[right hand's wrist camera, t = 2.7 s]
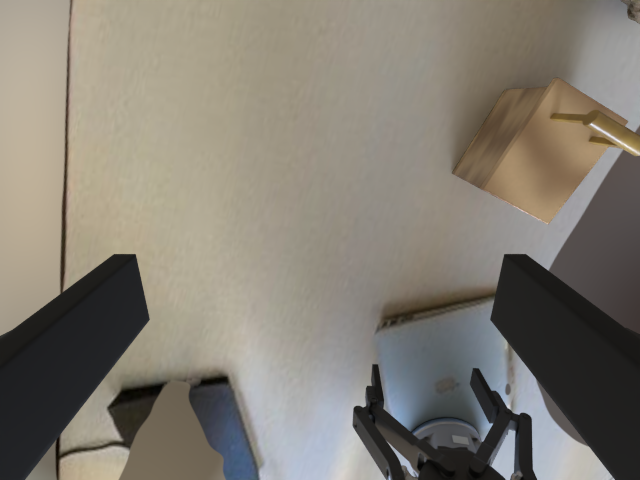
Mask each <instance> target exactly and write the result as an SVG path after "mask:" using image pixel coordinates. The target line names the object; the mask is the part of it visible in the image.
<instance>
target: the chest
mask: <svg viewBox="0 0 640 480" xmlns="http://www.w3.org/2000/svg"><path fill="white" fill-rule="evenodd" d="M546 89H547V87H538V88H523V89H506V90H504V92H503V93H502V95H501V97H500V98H499V100H498V101H497V103H496V104H495V106H494V108H493V109H492V111H491V112H490V114H489V115H488V117H487V119H486V120H485V122H484V123H483V125H482V126H481V128H480V130H479V131H478V133H477V134H476V136H475V138H474V139H473V141H472V142H471V144H470V145H469V147H468V149H467V150H466V152H465V153H464V155H463V156H462V158H461V160H460V161H459V163H458V164H457V166H456V168H455V169H454V171H453V172H452V174H454V175H456V176H458V177H460V178H462V179H463V180H465V181H467V182H469V183H471V184H473V185H475V186H476V187H478V188H480V187H481V185H482V184H483V182H484V181H485V179H486V178H487V176H488V175H489V173H490V172H491V170H492V169H493V167H494V166H495V164H496V163H497V162H498V160H499V159H500V157H501V156H502V154H503V153H504V151H505V150H506V148H507V147H508V145H509V144H510V142H511V141H512V139H513V138H514V136H515V135H516V133H517V132H518V130H519V129H520V127H521V126H522V124H523V123H524V121H525V120H526V118H527V117H528V115H529V114H530V113H531V111H532V110H533V108H534V107H535V105H536V104H537V102H538V101H539V99H540V98H541V96H542V95H543V93H544V92H545V90H546Z"/></svg>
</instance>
